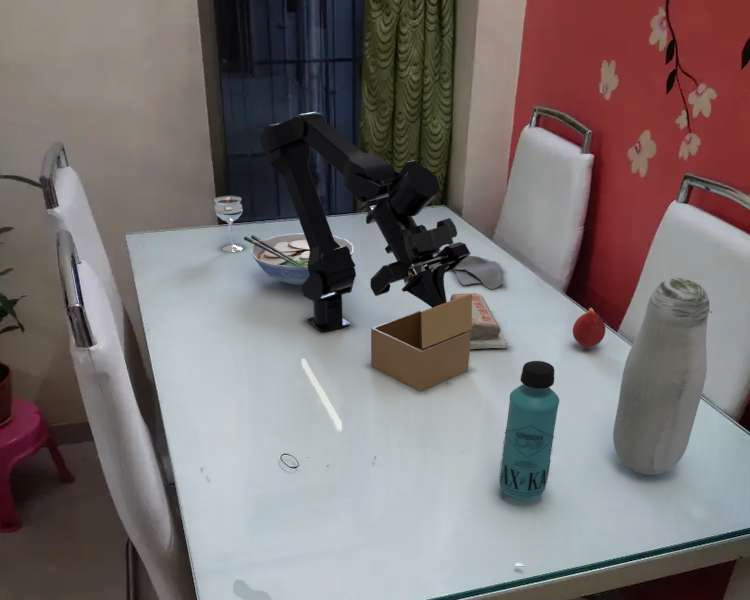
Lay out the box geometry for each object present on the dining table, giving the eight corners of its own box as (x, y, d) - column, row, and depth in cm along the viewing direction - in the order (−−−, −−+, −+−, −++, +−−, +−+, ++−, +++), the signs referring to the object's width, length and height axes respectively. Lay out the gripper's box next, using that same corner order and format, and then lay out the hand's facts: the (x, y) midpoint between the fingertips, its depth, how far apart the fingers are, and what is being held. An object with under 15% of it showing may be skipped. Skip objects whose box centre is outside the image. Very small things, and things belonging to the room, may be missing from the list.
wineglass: (219, 244, 198) (214, 196, 191) (246, 243, 198) (242, 195, 192) (218, 253, 192) (212, 203, 185) (245, 252, 193) (241, 203, 186)
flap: (470, 328, 135) (471, 329, 135) (421, 348, 129) (423, 348, 129) (470, 293, 132) (472, 293, 132) (420, 311, 126) (422, 312, 125)
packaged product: (440, 291, 158) (489, 289, 159) (439, 313, 161) (487, 312, 162) (456, 327, 143) (510, 325, 144) (455, 352, 146) (507, 349, 147)
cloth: (524, 284, 174) (525, 275, 173) (468, 292, 170) (469, 282, 169) (473, 248, 195) (474, 239, 194) (422, 255, 191) (423, 245, 190)
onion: (604, 345, 148) (611, 305, 144) (598, 357, 144) (605, 317, 140) (574, 339, 150) (580, 300, 146) (567, 351, 146) (572, 311, 142)
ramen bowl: (377, 287, 173) (377, 250, 169) (286, 310, 162) (284, 272, 158) (319, 255, 191) (318, 222, 186) (233, 274, 180) (230, 239, 175)
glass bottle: (694, 479, 111) (744, 292, 96) (630, 491, 109) (672, 301, 94) (654, 443, 119) (695, 265, 104) (594, 453, 117) (627, 273, 102)
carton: (468, 370, 140) (471, 332, 136) (420, 391, 133) (422, 352, 129) (418, 347, 148) (419, 310, 144) (371, 366, 141) (371, 328, 137)
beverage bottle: (492, 483, 110) (505, 355, 100) (539, 481, 111) (557, 353, 100) (503, 511, 105) (518, 378, 94) (551, 508, 106) (572, 376, 95)
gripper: (382, 215, 119) (430, 304, 118) (465, 193, 130) (511, 275, 129) (349, 253, 128) (394, 336, 127) (430, 230, 139) (472, 306, 138)
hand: (444, 312), depth 130 cm, fingers closed, pressing on flap
